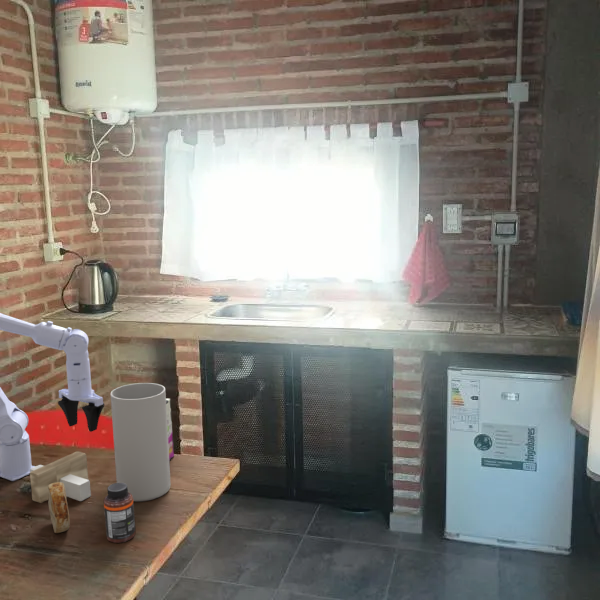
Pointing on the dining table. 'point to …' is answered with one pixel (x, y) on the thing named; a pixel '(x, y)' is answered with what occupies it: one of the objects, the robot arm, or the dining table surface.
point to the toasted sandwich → (58, 507)
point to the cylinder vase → (141, 439)
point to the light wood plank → (57, 474)
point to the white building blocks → (74, 486)
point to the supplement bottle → (119, 513)
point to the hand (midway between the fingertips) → (82, 427)
